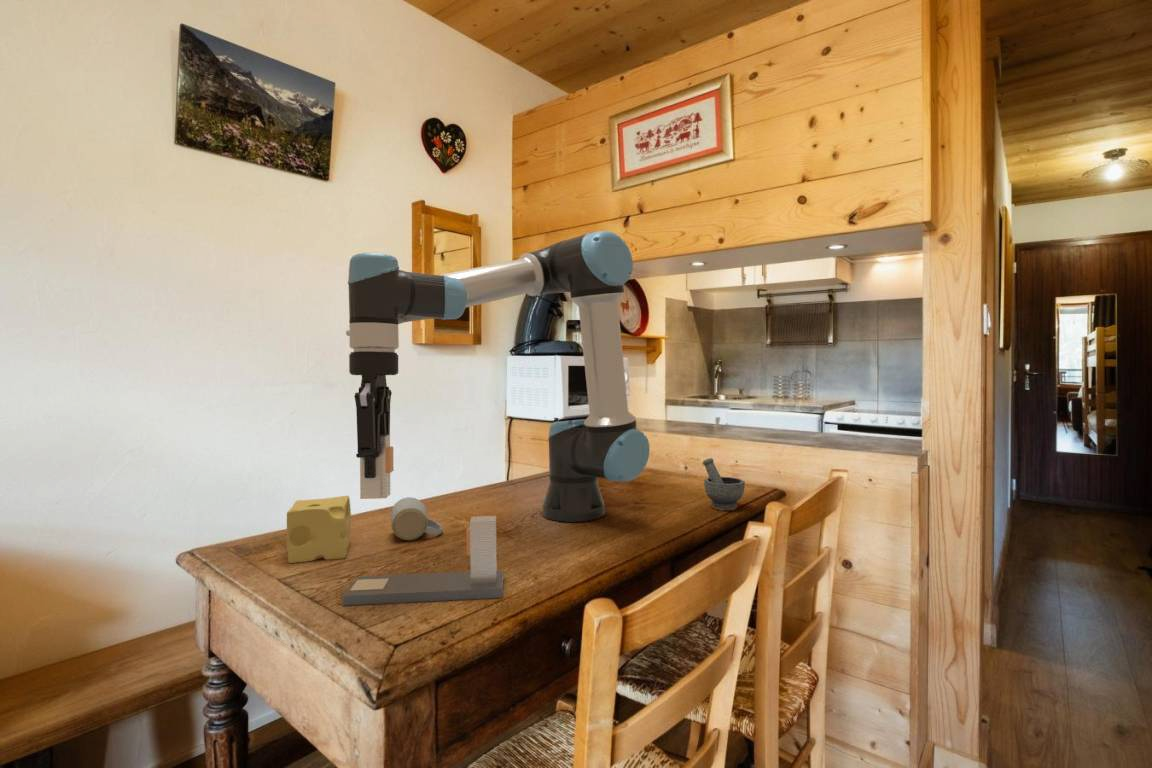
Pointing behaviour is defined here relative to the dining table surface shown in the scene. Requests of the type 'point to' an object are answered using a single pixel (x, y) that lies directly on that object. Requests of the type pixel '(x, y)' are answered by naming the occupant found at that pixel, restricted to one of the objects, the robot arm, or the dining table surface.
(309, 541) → the cheese
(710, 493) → the mortar and pestle
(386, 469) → the loose carton
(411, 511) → the ceramic mug
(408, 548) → the dining table surface
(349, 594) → the rail
